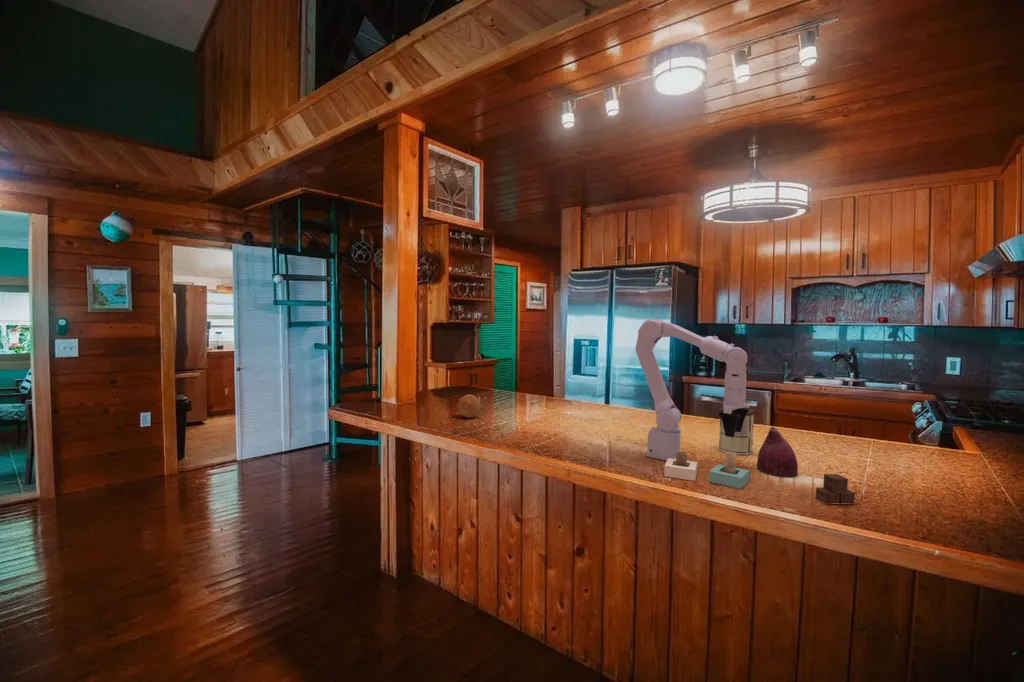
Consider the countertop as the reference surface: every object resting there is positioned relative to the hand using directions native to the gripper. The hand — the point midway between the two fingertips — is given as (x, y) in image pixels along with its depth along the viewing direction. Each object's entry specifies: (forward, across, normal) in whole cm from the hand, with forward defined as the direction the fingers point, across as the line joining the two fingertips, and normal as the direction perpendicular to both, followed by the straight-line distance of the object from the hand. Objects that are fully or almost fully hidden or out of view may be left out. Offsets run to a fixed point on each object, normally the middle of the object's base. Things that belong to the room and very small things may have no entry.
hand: (733, 434), depth 139 cm
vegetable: (+10, +5, -11) cm, 16 cm away
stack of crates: (+11, -10, -25) cm, 29 cm away
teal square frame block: (+10, -14, -3) cm, 17 cm away
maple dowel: (+10, -14, -3) cm, 17 cm away
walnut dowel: (+10, -17, +9) cm, 22 cm away
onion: (+10, -7, +104) cm, 105 cm away
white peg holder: (+10, -17, +9) cm, 22 cm away
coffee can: (+10, +19, +4) cm, 22 cm away
